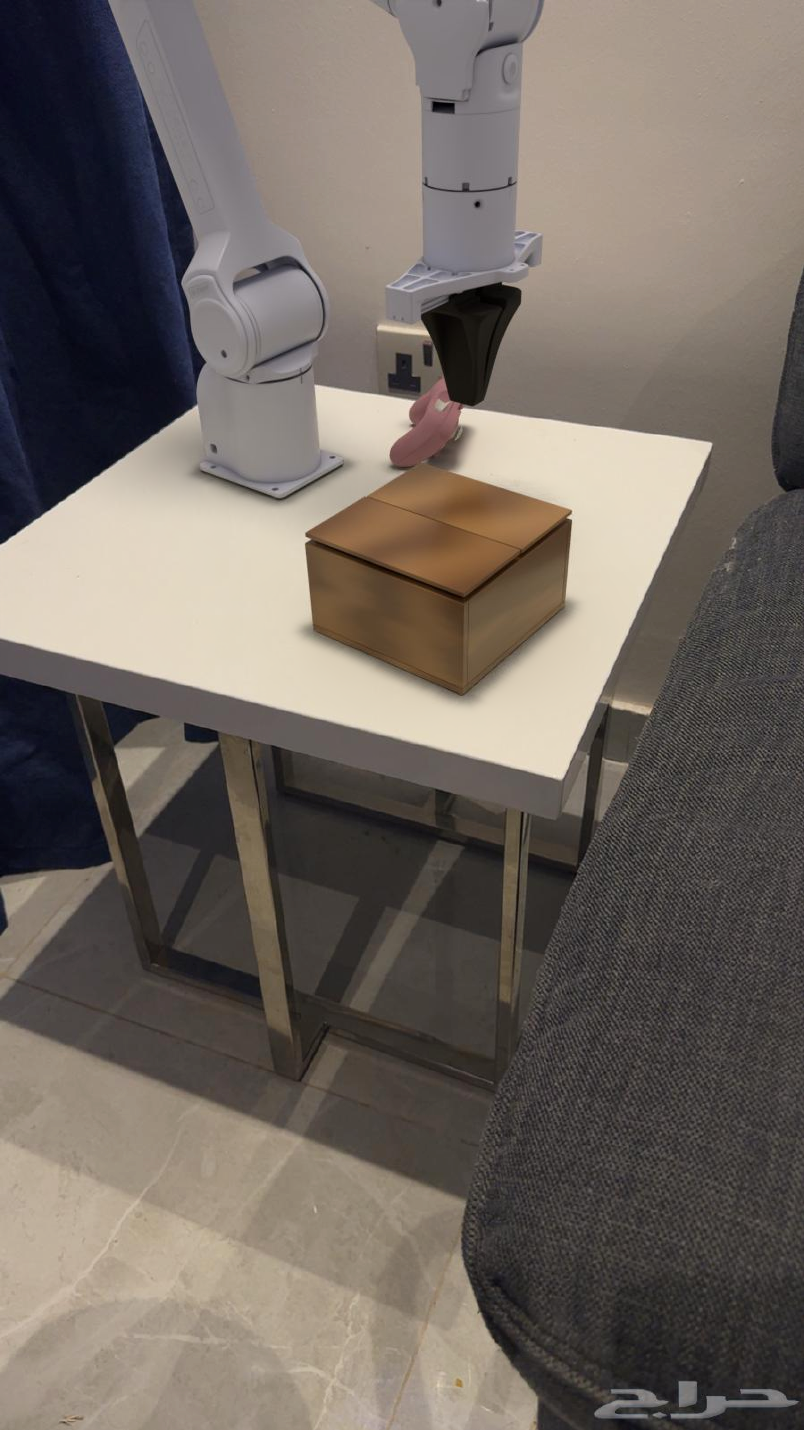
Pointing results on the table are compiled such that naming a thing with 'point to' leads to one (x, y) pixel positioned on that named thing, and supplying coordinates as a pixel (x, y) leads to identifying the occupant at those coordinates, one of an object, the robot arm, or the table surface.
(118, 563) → the table surface
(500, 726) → the table surface
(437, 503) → the flap
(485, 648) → the wooden box
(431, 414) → the video game controller
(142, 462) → the table surface
